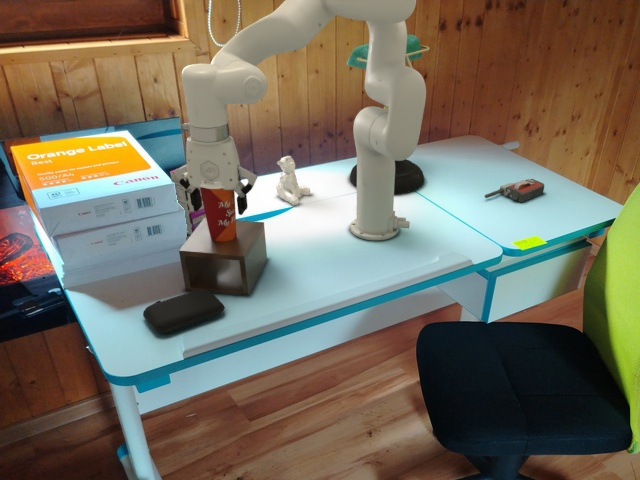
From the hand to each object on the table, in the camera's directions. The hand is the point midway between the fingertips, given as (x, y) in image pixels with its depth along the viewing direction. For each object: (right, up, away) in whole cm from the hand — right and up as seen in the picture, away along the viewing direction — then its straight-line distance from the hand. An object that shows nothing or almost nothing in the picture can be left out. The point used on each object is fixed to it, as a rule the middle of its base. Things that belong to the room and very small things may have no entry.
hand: (220, 210), depth 134 cm
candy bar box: (-12, +1, +28) cm, 30 cm away
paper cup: (0, -5, +4) cm, 6 cm away
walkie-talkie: (+73, +14, +53) cm, 91 cm away
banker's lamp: (+35, +20, +59) cm, 71 cm away
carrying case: (-6, -23, -4) cm, 24 cm away
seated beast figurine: (+7, +12, +45) cm, 47 cm away
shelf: (-1, -13, +9) cm, 16 cm away
